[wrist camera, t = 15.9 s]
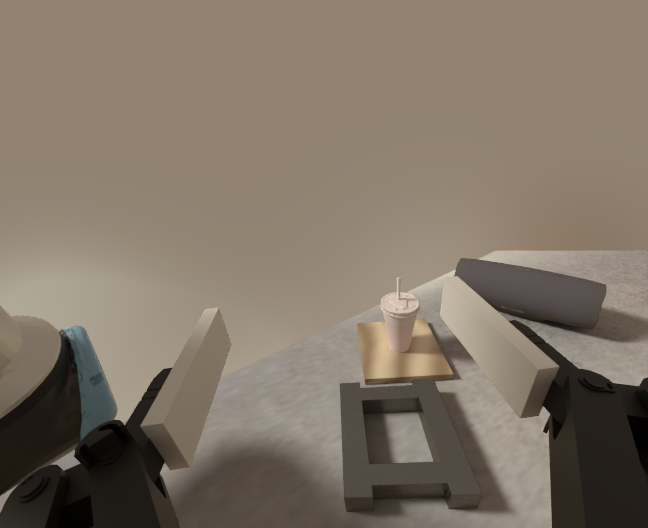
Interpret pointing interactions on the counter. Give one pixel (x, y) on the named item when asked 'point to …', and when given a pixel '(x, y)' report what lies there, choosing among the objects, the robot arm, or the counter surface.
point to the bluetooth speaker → (534, 292)
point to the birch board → (401, 355)
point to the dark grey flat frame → (403, 478)
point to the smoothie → (399, 318)
